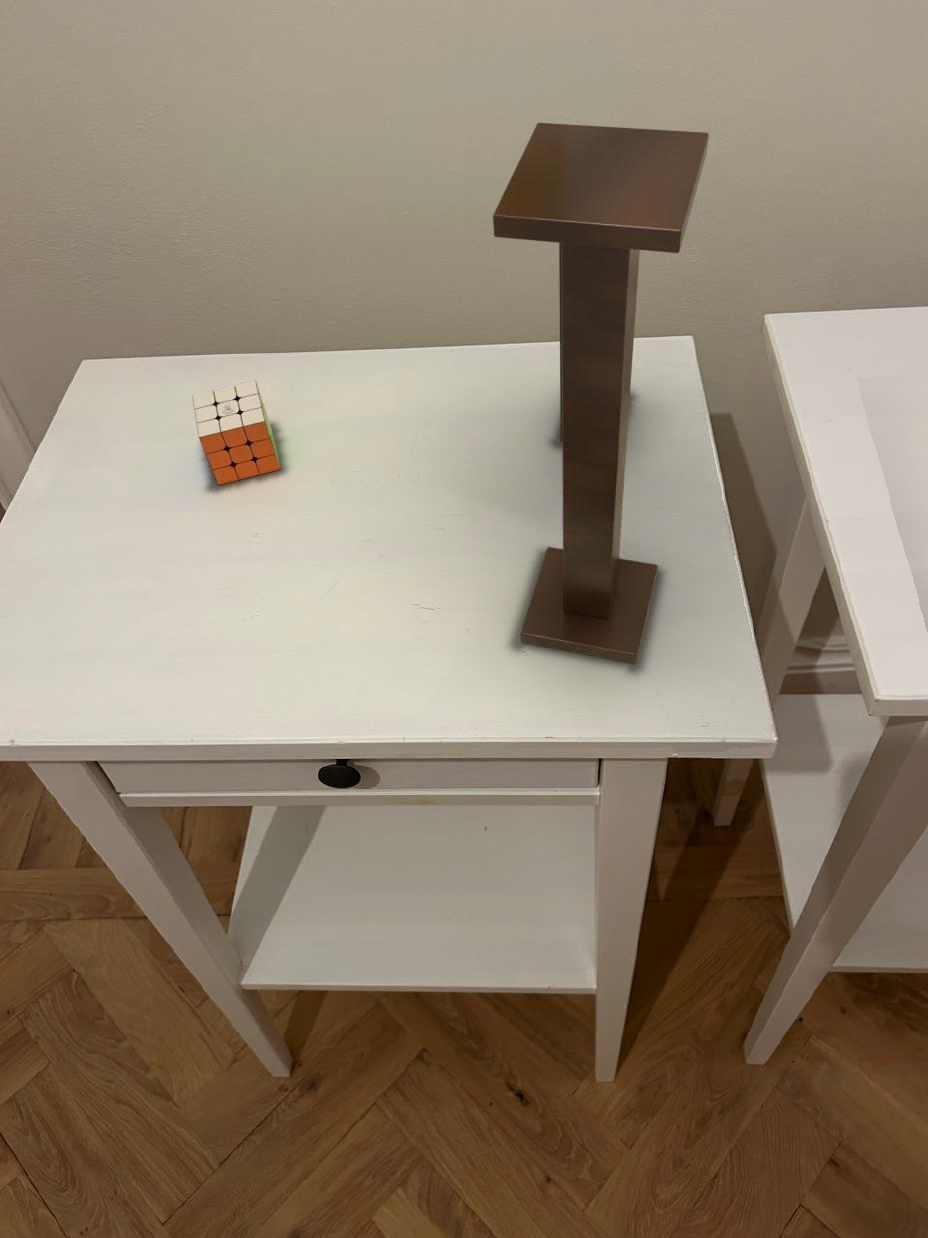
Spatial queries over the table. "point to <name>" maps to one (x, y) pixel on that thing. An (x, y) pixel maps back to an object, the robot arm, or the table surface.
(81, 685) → the table surface
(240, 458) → the rubik's cube
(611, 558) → the stand
